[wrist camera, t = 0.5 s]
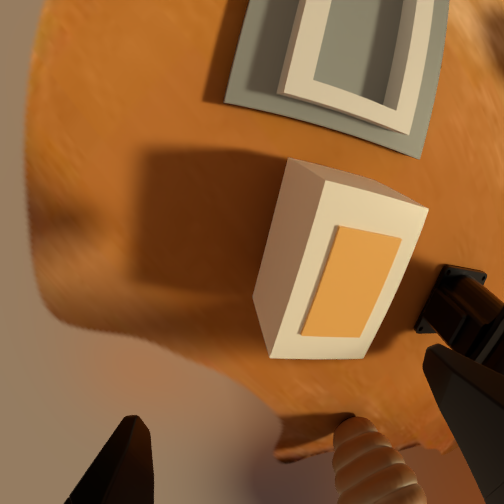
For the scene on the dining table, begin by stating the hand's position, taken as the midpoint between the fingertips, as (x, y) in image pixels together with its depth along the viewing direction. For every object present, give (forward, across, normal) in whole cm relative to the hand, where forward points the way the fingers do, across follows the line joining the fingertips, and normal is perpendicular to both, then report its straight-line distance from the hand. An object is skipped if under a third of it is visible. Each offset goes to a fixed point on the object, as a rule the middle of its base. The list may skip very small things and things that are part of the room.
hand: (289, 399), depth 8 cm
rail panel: (+12, -10, -15) cm, 21 cm away
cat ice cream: (+12, -7, +23) cm, 27 cm away
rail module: (+12, -4, 0) cm, 12 cm away
